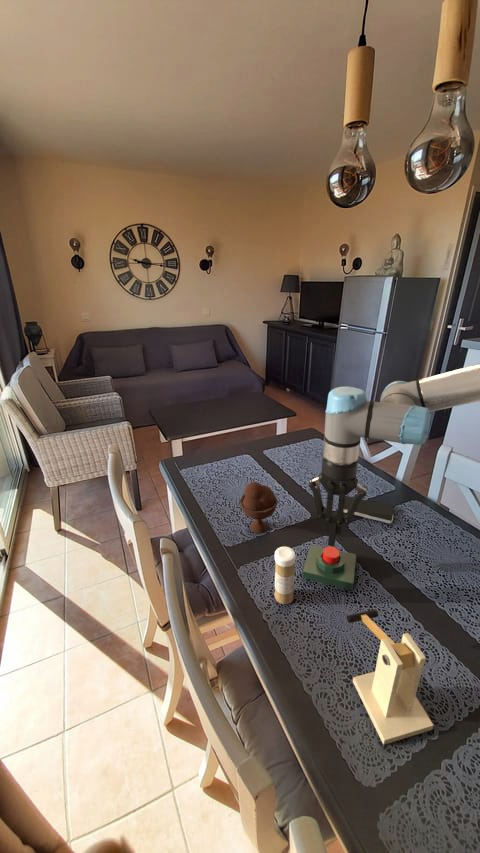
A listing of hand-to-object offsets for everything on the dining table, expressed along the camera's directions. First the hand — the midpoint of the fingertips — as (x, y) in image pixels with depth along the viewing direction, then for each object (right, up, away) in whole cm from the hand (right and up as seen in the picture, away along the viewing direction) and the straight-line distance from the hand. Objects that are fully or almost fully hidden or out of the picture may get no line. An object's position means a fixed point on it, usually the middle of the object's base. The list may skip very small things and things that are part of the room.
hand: (331, 541), depth 88 cm
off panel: (0, -8, +4) cm, 9 cm away
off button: (0, -5, +2) cm, 5 cm away
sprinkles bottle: (-12, -12, -4) cm, 17 cm away
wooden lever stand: (+4, -21, -25) cm, 33 cm away
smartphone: (+17, +2, +25) cm, 31 cm away
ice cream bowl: (-17, -2, +19) cm, 26 cm away
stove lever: (+3, -10, -25) cm, 27 cm away
